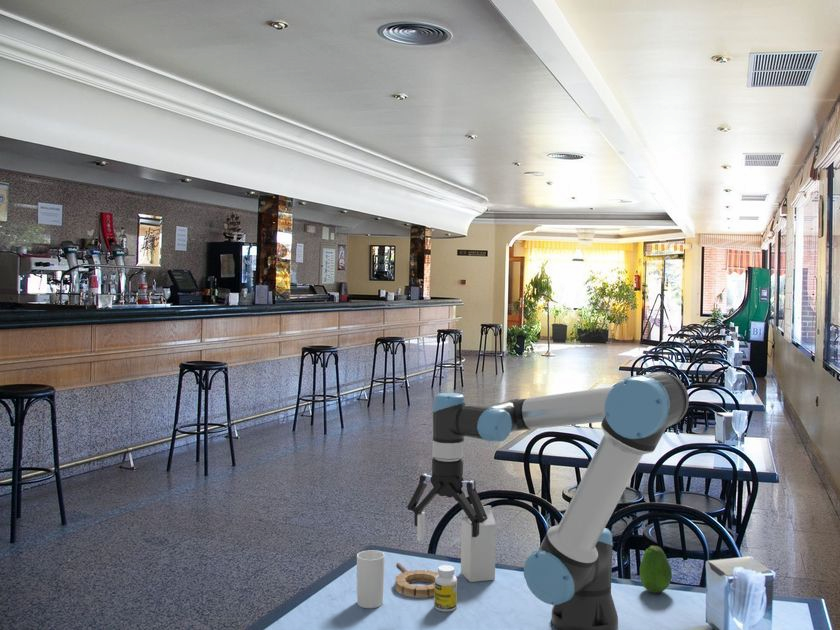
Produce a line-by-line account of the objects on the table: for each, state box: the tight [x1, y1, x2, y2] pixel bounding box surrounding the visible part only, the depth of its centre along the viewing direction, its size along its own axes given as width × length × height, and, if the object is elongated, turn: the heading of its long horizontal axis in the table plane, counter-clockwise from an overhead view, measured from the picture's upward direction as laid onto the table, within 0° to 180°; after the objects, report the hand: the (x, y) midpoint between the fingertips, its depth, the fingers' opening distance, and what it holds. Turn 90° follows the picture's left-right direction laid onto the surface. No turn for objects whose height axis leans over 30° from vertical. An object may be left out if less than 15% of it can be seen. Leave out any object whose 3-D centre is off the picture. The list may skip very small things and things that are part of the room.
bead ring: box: [394, 569, 438, 599], centre depth 198 cm, size 13×13×2 cm
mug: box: [356, 549, 385, 609], centre depth 189 cm, size 10×7×12 cm, turn 168°
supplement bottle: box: [433, 564, 458, 613], centre depth 186 cm, size 5×5×10 cm
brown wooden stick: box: [396, 562, 408, 573], centre depth 209 cm, size 10×1×1 cm, turn 22°
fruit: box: [639, 545, 673, 594], centre depth 197 cm, size 8×8×12 cm
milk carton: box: [460, 505, 497, 583], centre depth 206 cm, size 7×7×19 cm
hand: (445, 544), depth 185 cm, fingers open, 13 cm apart
